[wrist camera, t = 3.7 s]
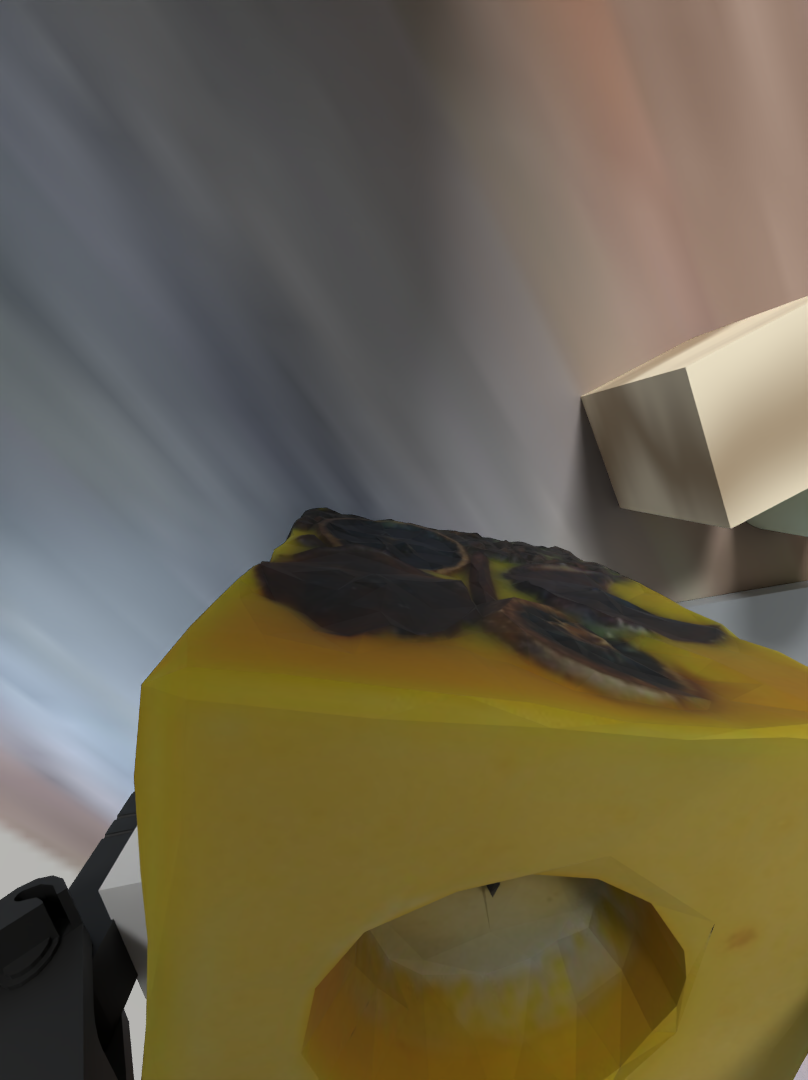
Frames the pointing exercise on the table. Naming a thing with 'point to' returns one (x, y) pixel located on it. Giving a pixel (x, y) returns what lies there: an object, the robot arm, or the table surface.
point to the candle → (469, 824)
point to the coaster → (763, 616)
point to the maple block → (711, 422)
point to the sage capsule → (785, 516)
